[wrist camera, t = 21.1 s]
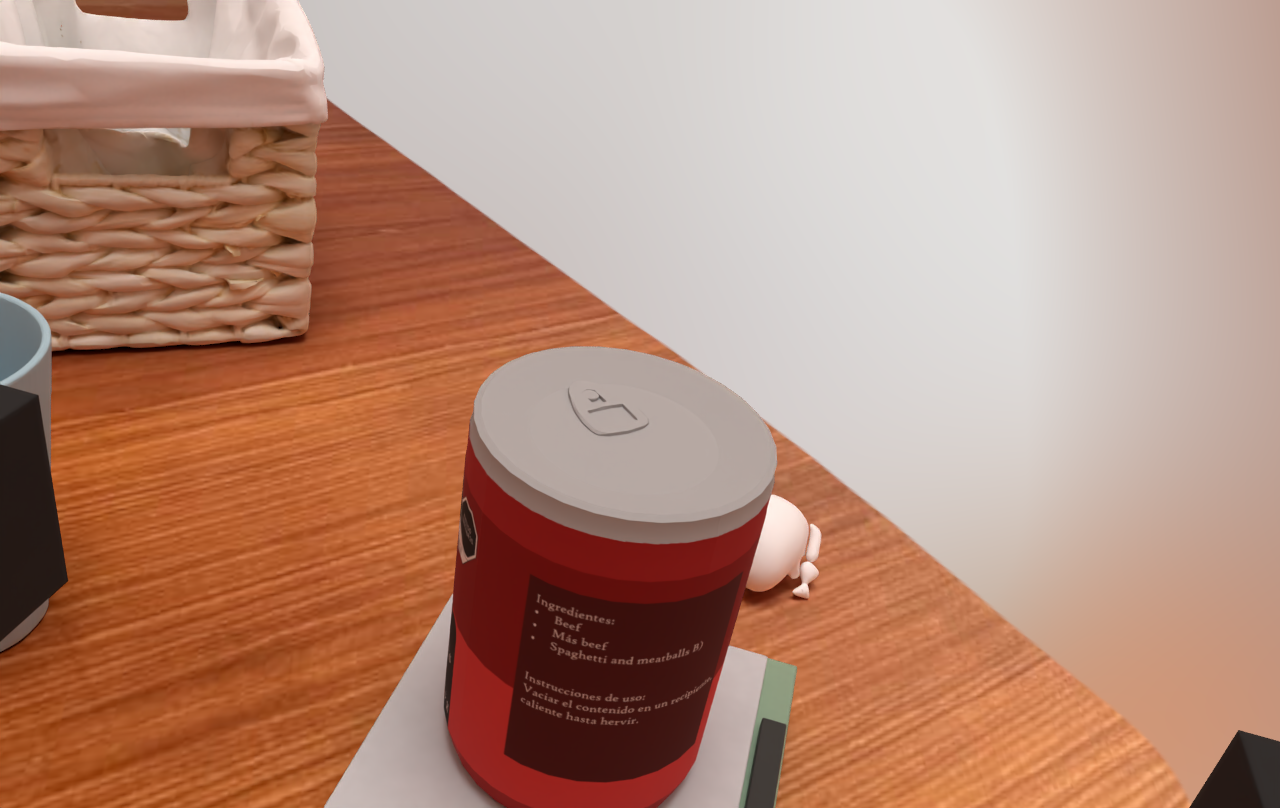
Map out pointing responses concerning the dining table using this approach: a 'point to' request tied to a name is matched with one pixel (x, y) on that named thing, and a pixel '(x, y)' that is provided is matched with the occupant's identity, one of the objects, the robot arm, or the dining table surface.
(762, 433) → the canned food
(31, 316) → the cup
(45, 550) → the robot arm
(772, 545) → the rabbit figurine
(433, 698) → the scale
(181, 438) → the dining table surface
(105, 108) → the basket
